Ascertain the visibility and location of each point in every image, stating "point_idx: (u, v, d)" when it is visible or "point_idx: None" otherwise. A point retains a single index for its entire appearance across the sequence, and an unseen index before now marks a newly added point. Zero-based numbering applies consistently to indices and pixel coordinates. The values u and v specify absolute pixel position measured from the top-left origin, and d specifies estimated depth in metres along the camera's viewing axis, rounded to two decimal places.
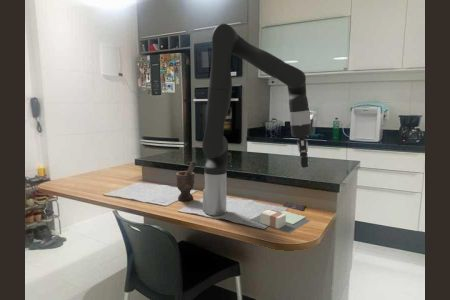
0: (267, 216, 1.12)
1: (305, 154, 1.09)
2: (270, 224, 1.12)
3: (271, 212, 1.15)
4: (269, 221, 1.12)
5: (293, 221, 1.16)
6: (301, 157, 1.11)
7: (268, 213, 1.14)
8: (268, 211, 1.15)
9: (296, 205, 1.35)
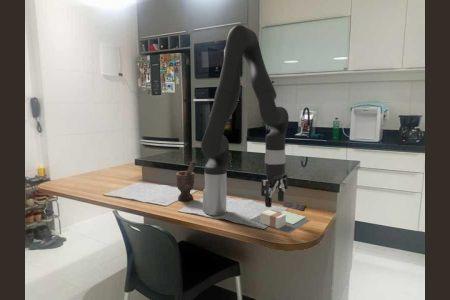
0: (267, 216, 1.12)
1: (265, 195, 1.06)
2: (270, 224, 1.12)
3: (271, 212, 1.15)
4: (269, 221, 1.12)
5: (293, 221, 1.16)
6: (265, 196, 1.09)
7: (268, 213, 1.14)
8: (268, 211, 1.15)
9: (296, 205, 1.35)
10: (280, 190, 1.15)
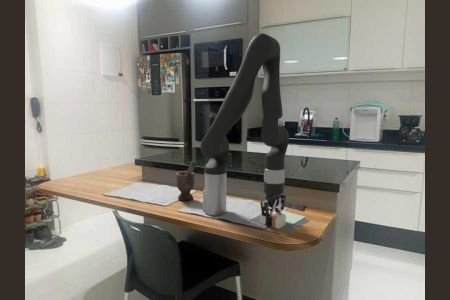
0: None
1: (266, 215, 1.09)
2: None
3: None
4: None
5: (293, 221, 1.16)
6: None
7: None
8: None
9: (296, 205, 1.35)
10: (276, 211, 1.15)
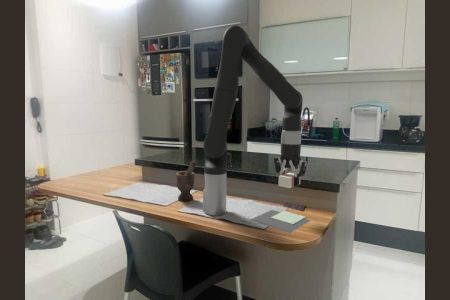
0: None
1: None
2: None
3: (292, 174, 1.18)
4: None
5: (293, 221, 1.16)
6: (283, 173, 1.21)
7: (289, 174, 1.19)
8: (293, 174, 1.19)
9: (296, 205, 1.35)
10: None
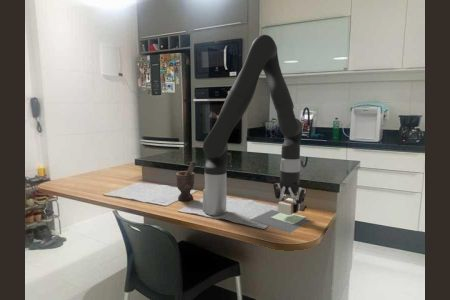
0: None
1: None
2: None
3: (292, 201, 1.20)
4: None
5: (293, 221, 1.16)
6: None
7: (288, 200, 1.21)
8: None
9: None
10: None
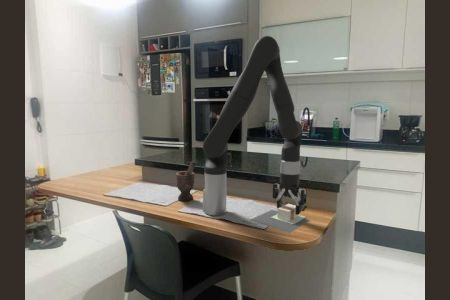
0: None
1: None
2: None
3: (291, 207, 1.20)
4: None
5: (293, 221, 1.16)
6: None
7: (288, 206, 1.21)
8: (292, 206, 1.21)
9: None
10: None
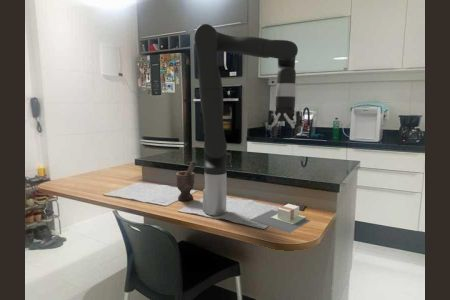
0: None
1: None
2: None
3: (291, 207, 1.20)
4: None
5: (293, 221, 1.16)
6: None
7: (288, 206, 1.21)
8: (292, 206, 1.21)
9: (296, 205, 1.35)
10: None
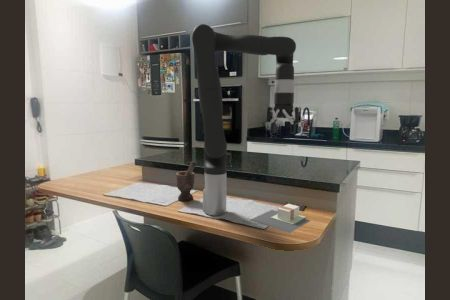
0: None
1: None
2: None
3: (291, 207, 1.20)
4: None
5: (293, 221, 1.16)
6: None
7: (288, 206, 1.21)
8: (292, 206, 1.21)
9: (296, 205, 1.35)
10: None
